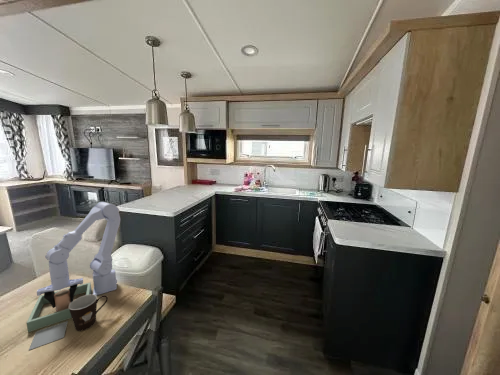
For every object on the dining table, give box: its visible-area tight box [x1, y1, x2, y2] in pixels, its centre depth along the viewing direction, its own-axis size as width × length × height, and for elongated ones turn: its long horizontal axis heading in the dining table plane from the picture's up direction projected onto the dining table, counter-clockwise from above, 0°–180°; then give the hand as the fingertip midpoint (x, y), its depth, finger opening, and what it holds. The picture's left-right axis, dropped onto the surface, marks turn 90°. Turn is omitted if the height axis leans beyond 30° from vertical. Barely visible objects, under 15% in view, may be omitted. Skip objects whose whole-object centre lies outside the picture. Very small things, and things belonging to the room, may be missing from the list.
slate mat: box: [28, 320, 68, 351], centre depth 76 cm, size 9×9×1 cm
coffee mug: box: [69, 293, 109, 332], centre depth 80 cm, size 12×9×10 cm
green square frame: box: [26, 281, 92, 333], centre depth 89 cm, size 18×18×4 cm
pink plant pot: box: [54, 288, 71, 312], centre depth 88 cm, size 5×5×7 cm
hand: (63, 303), depth 89 cm, fingers closed on pink plant pot, 5 cm apart
